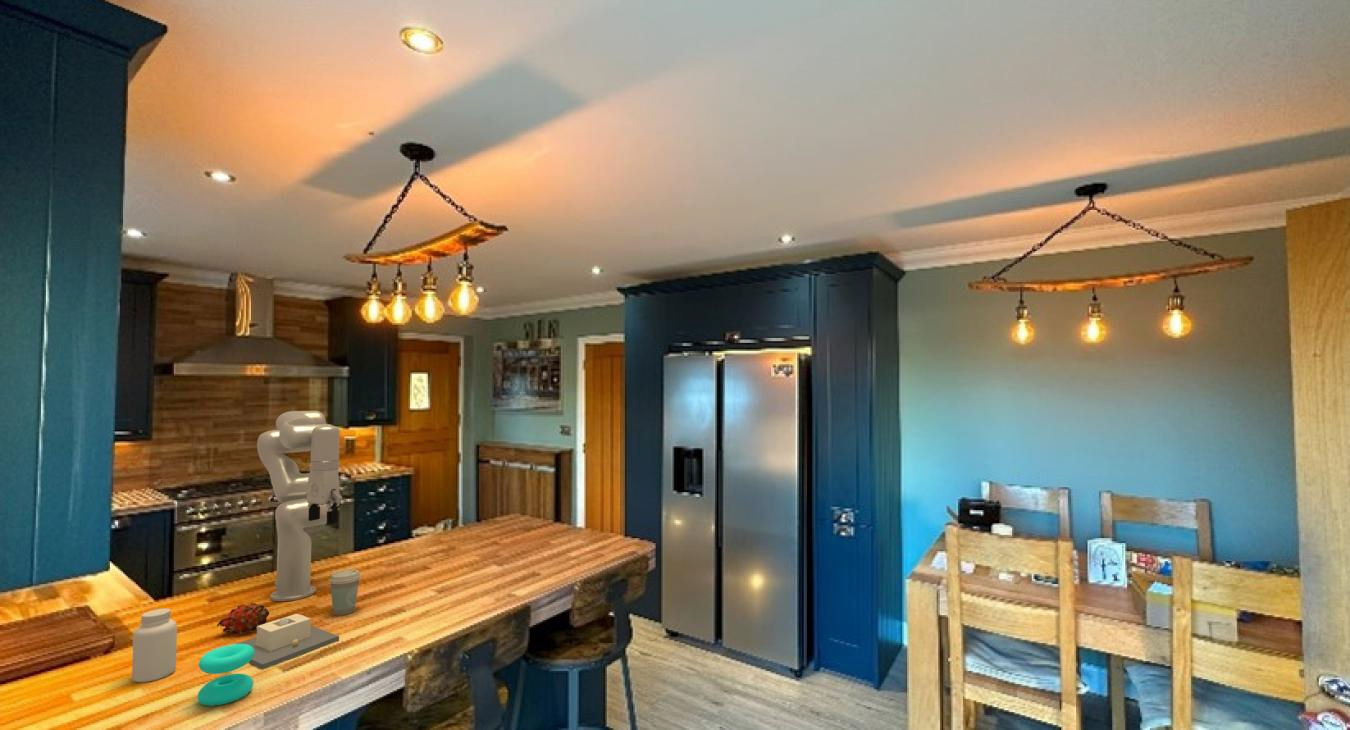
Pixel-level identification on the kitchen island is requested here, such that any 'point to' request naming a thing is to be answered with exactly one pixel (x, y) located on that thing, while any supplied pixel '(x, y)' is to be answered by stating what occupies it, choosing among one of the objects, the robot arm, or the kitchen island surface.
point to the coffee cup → (344, 591)
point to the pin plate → (289, 647)
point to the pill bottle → (154, 646)
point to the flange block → (283, 632)
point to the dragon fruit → (244, 618)
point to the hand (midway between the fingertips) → (323, 521)
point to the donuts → (227, 685)
